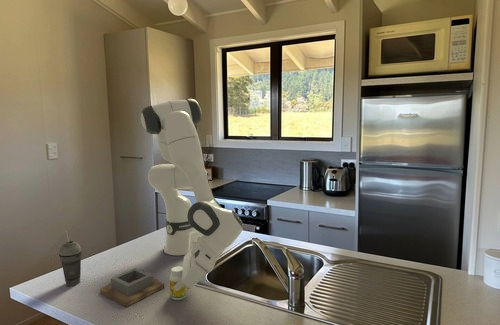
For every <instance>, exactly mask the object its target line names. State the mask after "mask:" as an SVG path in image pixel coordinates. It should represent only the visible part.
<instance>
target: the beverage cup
mask: <svg viewBox="0 0 500 325" xmlns="http://www.w3.org/2000/svg"><path fill="white" fill-rule="evenodd" d="M64 232H65V238H66V242H65V243H63V244H62V245H61V247H60V249H59V251H58V253H59V254H58V257H59V258H60V261H61V266H62V272H63V277H64V281H65V286H66V287H75V286H78V285H79V284H80V283H81V274H82V273H81V272H82V268H81V265H82V264H81V262H82V252H83V250H82V247H81V245H80V244H79V243H78V242H76V241H73V240H71V241H70V238H69V236H68V230H67V229H65V230H64Z"/></svg>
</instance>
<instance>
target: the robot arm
mask: <svg viewBox="0 0 500 325" xmlns="http://www.w3.org/2000/svg"><path fill="white" fill-rule="evenodd" d="M140 114H141V115H140V122H141V126H142V127H143V129H144V130H145V132H146V133H148V134H150V135H156V136H157V142H158V147H159V152H160V156H161V157H162V159H164V160H165V161H167V162H168V163H162V164H161V163H160V164H156V165H152V166H151V167H150V169H149V170H148V173H147V180H148V183H149V185H150V186H151V187H152V188H153V189H155V190H156V191H157V192H158V193H159V195H160V196H161V197H162V200H163V201H164V206H165V213H166V219H165V229H166V237H165V238H166V239H165V245H164V249H163V252H164V253H165V254H166V255H169V256H183V261H182V264H181V266H180V267H183V269H182V278H181V280H180V281H179V282H177V283H176V284H175V285H174V289H175V290H176V291H178V290H179V289H180V288H182V287H184V286H185V287H187V289H192V288H194V286H196V285H197V284H198V283H199V282H200V281H201V280H202V279H203V278H205V276H206V274H207V273H211V272H212V271H213V269H215V264H216V262H217V260H218V259H219V258H220V257H221V256H222V254H223V253H224V251H225V250H226V249H228V248H229V247H230V246H231V245H233V243H234V242H235V241H236V240H237V239H238V237H240V235H241V233H242V232H243V230H244V223H243V221H242V219H241V217H240V216H239V215H238V213H236V211H235V210H233V209H227V208H223V207H222V206H221V205H220V203H219V202H218V200H216V198H215V196H214V194H213V191H212V188H211V185H210V181H209V178H208V173H207V170H206V168H205V161H204V156H203V150H202V146H201V145H202V144H201V141H200V138H199V134H198V131H197V128H196V126H197V125H199V124H200V122H201V121H202V109H201V107H200V105H199V103H198V101H197V100H196V99H193V98H185V99H174V100H173V99H172V100H169V101H165V102H161V103H156V104H154V105H151V104H149V105H147V106H145V107H143V108H142V110H141V113H140ZM185 189H186V190H188V189H189V190H192V191H193V192H192V193H193V195H194V197H195V201H196V202H195V203H193V204H192V202H191V200H190V199H189V198H188V197H187V196H184V195H182V194H181V193H180V191H179V190H185Z"/></svg>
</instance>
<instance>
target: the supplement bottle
mask: <svg viewBox="0 0 500 325" xmlns="http://www.w3.org/2000/svg"><path fill="white" fill-rule="evenodd" d="M182 269H183V267H181V266H174V267H172V268H171V269H170V270H171V272H170V273H171V274H170V276H169V292H170V293H169V294H170V296H169V297H170V298H171V299H172V300H174V301H180V300H184V299H185V298H186V297H187V295H188V293H187V292H188V290H187V289H188V288H187V287H185V286H184V287H182V288H180V289H179V290H178V291H176V290H175V289H174V285H175V284H176V283H177V282H179V281H180V280H181V278H182Z"/></svg>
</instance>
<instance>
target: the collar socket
mask: <svg viewBox="0 0 500 325" xmlns="http://www.w3.org/2000/svg"><path fill="white" fill-rule="evenodd" d="M162 289H165V283H163V282H161V281H159V280H156V279H154V276H153V274H151V273H149V272H147V271H144V270H141V269H139V268H137V267H134V268H132V269H129V270H127V271H125V272H122V273H120V274H117V275H114V276H113V277H110V284H107V285H105V286H103V287H101V288H100V289H99V293H100V294H102V295H103V296H105V297H107V298H109V299H111V300H112V301H115V302H116V303H118V304H120V305H122V306H124V307H125V308H127V307H130V306H131V305H133V304H135V303H137V302H139V301H141V300H143V299H145V298H147V297H150V295H153V294H155V293H156V292H158V291H161V290H162Z"/></svg>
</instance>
